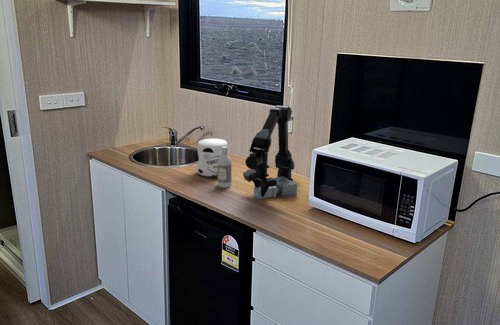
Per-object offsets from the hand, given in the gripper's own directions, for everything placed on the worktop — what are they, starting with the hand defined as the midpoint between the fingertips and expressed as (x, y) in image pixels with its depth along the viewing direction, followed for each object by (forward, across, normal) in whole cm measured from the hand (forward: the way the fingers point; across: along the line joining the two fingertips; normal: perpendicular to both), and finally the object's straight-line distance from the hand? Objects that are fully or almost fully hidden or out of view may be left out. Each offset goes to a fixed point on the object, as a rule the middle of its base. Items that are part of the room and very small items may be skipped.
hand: (260, 195), depth 203 cm
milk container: (+2, -40, -6) cm, 40 cm away
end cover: (+1, 0, +6) cm, 6 cm away
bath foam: (+1, -22, -8) cm, 23 cm away
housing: (+1, 0, +12) cm, 12 cm away
